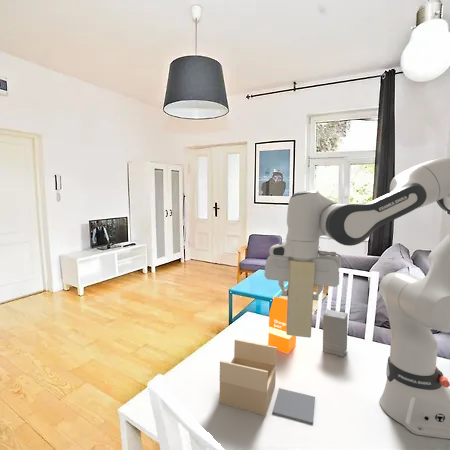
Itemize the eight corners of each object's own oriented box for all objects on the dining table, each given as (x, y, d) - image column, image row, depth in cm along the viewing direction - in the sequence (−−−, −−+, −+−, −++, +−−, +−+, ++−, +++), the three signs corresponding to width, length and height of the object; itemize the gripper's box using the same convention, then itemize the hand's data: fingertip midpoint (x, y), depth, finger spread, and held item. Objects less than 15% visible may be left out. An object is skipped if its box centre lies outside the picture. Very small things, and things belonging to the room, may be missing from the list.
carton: (275, 385, 96) (276, 347, 95) (265, 416, 83) (267, 372, 81) (234, 375, 101) (235, 339, 100) (219, 403, 87) (219, 361, 86)
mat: (315, 398, 90) (315, 396, 90) (312, 424, 80) (312, 422, 80) (279, 389, 94) (279, 388, 94) (272, 413, 84) (272, 411, 84)
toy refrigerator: (314, 338, 80) (317, 262, 78) (286, 335, 82) (289, 260, 79) (311, 325, 88) (314, 256, 86) (286, 323, 89) (288, 254, 87)
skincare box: (346, 350, 119) (349, 312, 117) (343, 358, 113) (345, 318, 111) (325, 344, 123) (327, 307, 122) (320, 352, 117) (322, 313, 116)
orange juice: (276, 339, 127) (278, 294, 125) (295, 345, 122) (298, 298, 120) (267, 346, 120) (269, 299, 118) (288, 354, 115) (290, 304, 113)
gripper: (341, 250, 82) (339, 298, 83) (268, 245, 89) (267, 289, 90) (342, 254, 76) (339, 306, 77) (263, 248, 83) (262, 296, 84)
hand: (299, 297), depth 84 cm, fingers closed on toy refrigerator, 7 cm apart
